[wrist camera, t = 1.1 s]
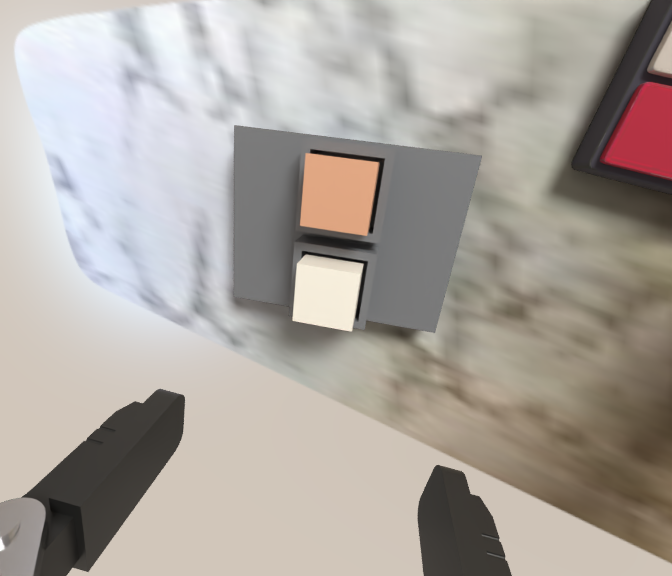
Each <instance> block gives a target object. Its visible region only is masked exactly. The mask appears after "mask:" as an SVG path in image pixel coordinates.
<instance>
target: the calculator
mask: <svg viewBox="0 0 672 576" xmlns="http://www.w3.org/2000/svg"><path fill="white" fill-rule="evenodd" d="M571 166H572V168H573V169H574V170H577V171H581V172H585V173H589V174H593V175H597V176H601V177H604V178H608V179H612V180H616V181H620V182H624V183H628V184H632V185H636V186H640V187H644V188H648V189H652V190H656V191H660V192H664V193H668V194H672V0H652V1H651V3H650V5H649V7H648V9H647V11H646V13H645V15H644V17H643V19H642V21H641V23H640V25H639V27H638V29H637V31H636V33H635V35H634V37H633V39H632V41H631V43H630V45H629V48H628V50H627V52H626V54H625V56H624V58H623V60H622V62H621V64H620V66H619V68H618V70H617V72H616V74H615V76H614V78H613V80H612V82H611V84H610V86H609V88H608V90H607V92H606V94H605V96H604V98H603V100H602V102H601V104H600V106H599V108H598V110H597V112H596V114H595V116H594V118H593V120H592V122H591V124H590V126H589V128H588V130H587V132H586V134H585V137H584V139H583V141H582V143H581V145H580V147H579V149H578V151H577V153H576V155H575V157H574V159H573V161H572V164H571Z"/></svg>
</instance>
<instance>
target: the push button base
mask: <svg viewBox="0 0 672 576" xmlns="http://www.w3.org/2000/svg"><path fill="white" fill-rule="evenodd" d="M306 153H310V154H318V155H325V156H333V157H341V158H348V159H356V160H364V161H372V162H379V163H380V165H379V171H378V177H377V183H376V190H375V196H374V202H373V208H372V215H371V221H370V227H369V231H368V234H367V236H364V235H358V234H351V233H344V232H338V231H331V230H325V229H318V228H312V227H305V226H300V219H301V206H302V194H303V181H304V168H305V156H306ZM481 158H482V156H480V155H472V154H464V153H456V152H448V151H440V150H431V149H423V148H415V147H407V146H399V145H391V144H383V143H374V142H366V141H358V140H350V139H342V138H334V137H326V136H318V135H309V134H301V133H293V132H285V131H277V130H269V129H261V128H253V127H244V126H236V125H234V297H239V298H244V299H250V300H256V301H261V302H267V303H272V304H278V305H283V306H289V307H290V308H289V316H292V317H293V307H294V295H295V282H296V269H297V263H298V262H299V261H300V260H301V259H302V258H303V257H304V256H305V255H306V254H307V255H313V256H319V257H325V258H331V259H338V260H344V261H350V262H356V263H362V264H364V265H363V271H362V277H361V284H360V290H359V296H358V302H357V309H356V315H355V320H354V324H353V328H357V329H362V330H365V325H366V321H372V322H378V323H383V324H389V325H394V326H400V327H405V328H411V329H416V330H422V331H427V332H433V333H435V330H436V327H437V323H438V319H439V316H440V312H441V308H442V304H443V301H444V297H445V293H446V289H447V286H448V282H449V278H450V274H451V271H452V267H453V263H454V259H455V256H456V252H457V248H458V244H459V241H460V237H461V233H462V230H463V226H464V222H465V218H466V215H467V211H468V207H469V203H470V200H471V196H472V192H473V188H474V185H475V181H476V177H477V173H478V170H479V166H480V162H481Z"/></svg>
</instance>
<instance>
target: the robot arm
mask: <svg viewBox="0 0 672 576" xmlns="http://www.w3.org/2000/svg"><path fill="white" fill-rule="evenodd" d="M184 407H185V397H184V395H181V394H177V393H174V392H170V391H166V390H163V389H158V390H156V391H155V392H154V393H153V394H152V395H151V396H150V397H149V398H148V399H147V400H146V401H145V402H144V403H139V402H133V403H131V404H129V405H127V406H126V407H124V408H122V409H120V410H118V411H116V412H115V413H114V414H113V415H112V416H111V417H109V418H108V419H107V420H106V421H105V422H104V423H103V424H102V425H101V426H100V428H99V429H97V430H95V431H94V432H93V433H92V434H91V435H90V436H89V437H88V438H87V440H86V441H84V442H83V443H81V444H80V445H79V446H78V447H77V448H76V449H75V450H74V451H73V452H71V453H70V454H69V455H68V456H67V457H66V458H65V459H64V460H63V461H62V462H61V463H60V464H59V465H57V466H56V467H55V468H54V469H53V470H52V471H51V472H50V473H49V474H48V475H47V476H46V477H44V478H43V479H42V480H41V481H40V482H39V483H38V484H37V485H36V486H35V487H34V488H33V489H31V490H30V491H29V492H28V493H27V494H25V495H24V496H22V497H21V498H16V499H11V500H8V501H4V502H1V503H0V576H66V575H67V574H68V573H69V571H70V570H71V569H72V568H77V569H80V570H83V571H87V572H88V571H89V570H90V568H91V567H92V566H93V565H94V563H95V562H96V560H97V559H98V558H99V556H100V555H101V553H102V552H103V551H104V549H105V548H106V546H107V545H108V544H109V542H110V541H111V540H112V538H113V537H114V535H115V534H116V533H117V531H118V530H119V528H120V527H121V526H122V524H123V523H124V521H125V520H126V519H127V517H128V516H129V515H130V513H131V512H132V511H133V509H134V508H135V506H136V505H137V504H138V502H139V501H140V499H141V498H142V497H143V495H144V494H145V492H146V491H147V490H148V488H149V487H150V486H151V484H152V483H153V481H154V480H155V479H156V477H157V476H158V474H159V473H160V472H161V470H162V469H163V468H164V466H165V465H166V463H167V462H168V460H169V459H170V458H171V456H172V455H173V454H174V452H175V451H176V449H177V447H178V445H179V443H180V441H181V438H182V434H183V425H184ZM418 527H419V536H420V545H421V553H422V564H423V572H424V576H512V575H511V572H510V569H509V566H508V563H507V561H506V560H505V554H504V551H503V547H502V545H501V542H499V535H498V532H497V529H496V526H495V523H494V520H493V517H492V515H491V514H490V512H489V511H488V509H487V507H486V506H485V504H484V503H483V501H482V500H481V498H480V497H479V496H475V495H472V494H470V491H469V487H468V484H467V480H466V477H465V474H464V473H463V472H462V471H458V470H455V469H451V468H447V467H443V466H440V465H436V466H435V467H434V469H433V472H432V474H431V476H430V478H429V480H428V482H427V484H426V487H425V489H424V491H423V493H422V495H421V498H420V501H419V506H418Z"/></svg>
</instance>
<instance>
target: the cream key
mask: <svg viewBox="0 0 672 576" xmlns="http://www.w3.org/2000/svg"><path fill="white" fill-rule="evenodd" d="M363 265H364V264H362V263H356V262H350V261H344V260H338V259H331V258H325V257H319V256H313V255H307V254H306V255H305V256H304V257H303V258H302V259H301V260H300V261H299V262H298V263H297V269H296V282H295V295H294V307H293V320H292V321H297V322H302V323H307V324H313V325H318V326H324V327H329V328H334V329H340V330H345V331H351V332H352V328H353V324H354V320H355V315H356V309H357V302H358V296H359V290H360V284H361V277H362V271H363Z"/></svg>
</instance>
